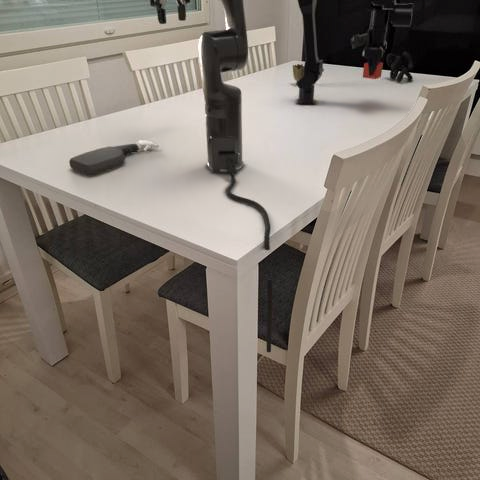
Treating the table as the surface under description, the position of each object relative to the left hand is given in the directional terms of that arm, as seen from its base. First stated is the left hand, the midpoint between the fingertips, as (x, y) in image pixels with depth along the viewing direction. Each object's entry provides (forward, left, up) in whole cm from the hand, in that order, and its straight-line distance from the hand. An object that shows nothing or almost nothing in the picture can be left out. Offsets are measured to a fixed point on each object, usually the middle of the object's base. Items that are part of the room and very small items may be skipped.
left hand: (172, 22), depth 128 cm
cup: (+63, -42, -32) cm, 82 cm away
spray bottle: (-25, +14, -32) cm, 43 cm away
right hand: (+27, -65, -20) cm, 73 cm away
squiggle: (+70, -88, -32) cm, 117 cm away
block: (+27, -65, -21) cm, 73 cm away
